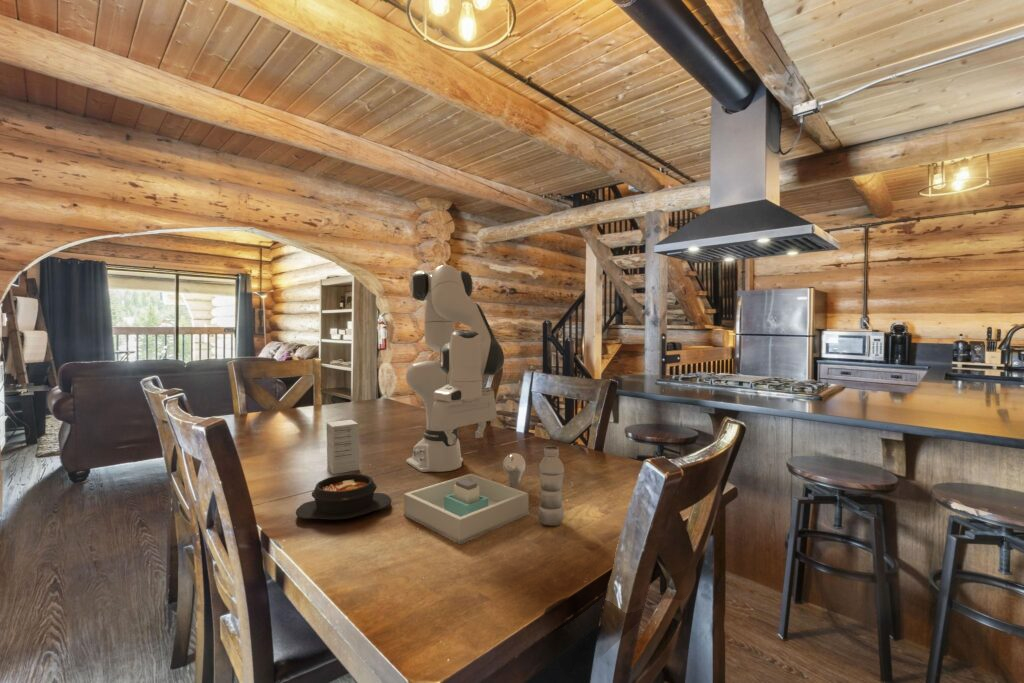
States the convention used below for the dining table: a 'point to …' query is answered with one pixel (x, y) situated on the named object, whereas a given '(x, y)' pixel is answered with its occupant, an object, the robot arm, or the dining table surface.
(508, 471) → the light bulb
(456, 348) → the robot arm
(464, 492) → the grey-topped white block
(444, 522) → the walled box
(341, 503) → the casserole
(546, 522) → the plastic bottle
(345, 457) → the supplement box
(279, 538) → the dining table surface
